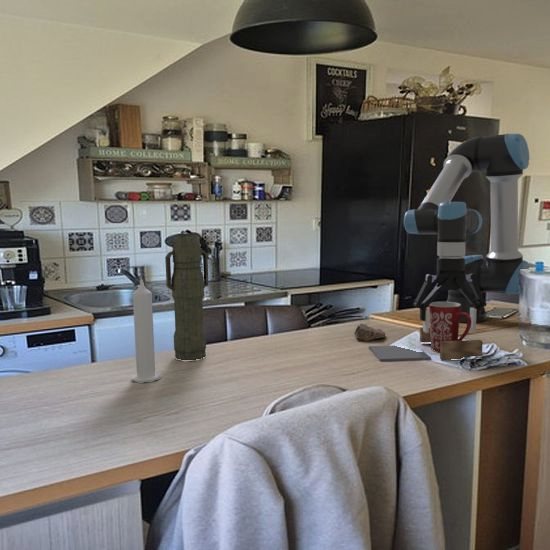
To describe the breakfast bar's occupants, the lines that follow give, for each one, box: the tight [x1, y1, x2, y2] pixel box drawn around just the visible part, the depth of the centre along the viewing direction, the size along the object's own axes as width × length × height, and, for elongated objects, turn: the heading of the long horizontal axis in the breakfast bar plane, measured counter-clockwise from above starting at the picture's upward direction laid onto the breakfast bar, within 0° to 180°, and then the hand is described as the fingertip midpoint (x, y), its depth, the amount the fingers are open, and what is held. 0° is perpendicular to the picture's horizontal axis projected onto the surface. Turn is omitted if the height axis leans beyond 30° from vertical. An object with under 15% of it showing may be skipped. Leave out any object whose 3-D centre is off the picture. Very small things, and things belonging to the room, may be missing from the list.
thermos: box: [165, 233, 209, 360], centre depth 155 cm, size 9×12×35 cm
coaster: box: [368, 345, 432, 362], centre depth 157 cm, size 14×14×1 cm
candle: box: [131, 279, 162, 384], centre depth 136 cm, size 7×7×25 cm
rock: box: [353, 323, 387, 342], centre depth 176 cm, size 9×6×10 cm
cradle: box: [419, 326, 484, 362], centre depth 158 cm, size 11×19×5 cm, turn 3°
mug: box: [428, 301, 471, 353], centre depth 158 cm, size 13×9×14 cm
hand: (449, 331), depth 158 cm, fingers open, 13 cm apart
